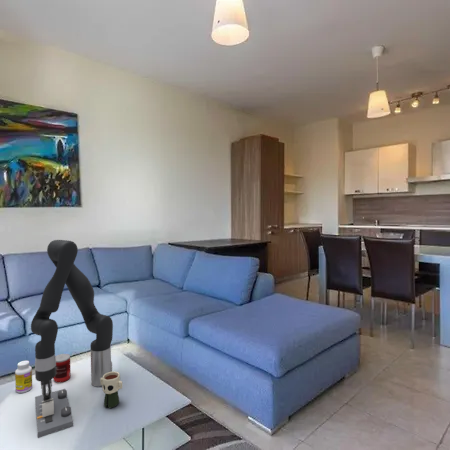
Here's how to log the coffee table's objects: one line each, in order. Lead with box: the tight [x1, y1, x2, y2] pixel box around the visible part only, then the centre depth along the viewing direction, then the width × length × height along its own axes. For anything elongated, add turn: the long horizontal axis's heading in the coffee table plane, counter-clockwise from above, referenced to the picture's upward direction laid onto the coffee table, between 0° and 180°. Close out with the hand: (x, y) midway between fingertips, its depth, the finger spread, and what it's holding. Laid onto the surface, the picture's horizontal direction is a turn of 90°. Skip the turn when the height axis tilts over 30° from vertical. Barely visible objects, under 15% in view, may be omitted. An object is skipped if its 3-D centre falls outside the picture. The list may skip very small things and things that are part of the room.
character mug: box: [100, 370, 123, 409], centre depth 140 cm, size 11×7×13 cm, turn 73°
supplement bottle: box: [14, 360, 33, 394], centre depth 150 cm, size 7×7×13 cm
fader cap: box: [42, 398, 54, 417], centre depth 130 cm, size 4×3×5 cm
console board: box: [34, 388, 74, 438], centre depth 134 cm, size 12×26×4 cm, turn 32°
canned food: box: [52, 353, 72, 384], centre depth 160 cm, size 8×8×11 cm
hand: (47, 406), depth 134 cm, fingers closed
